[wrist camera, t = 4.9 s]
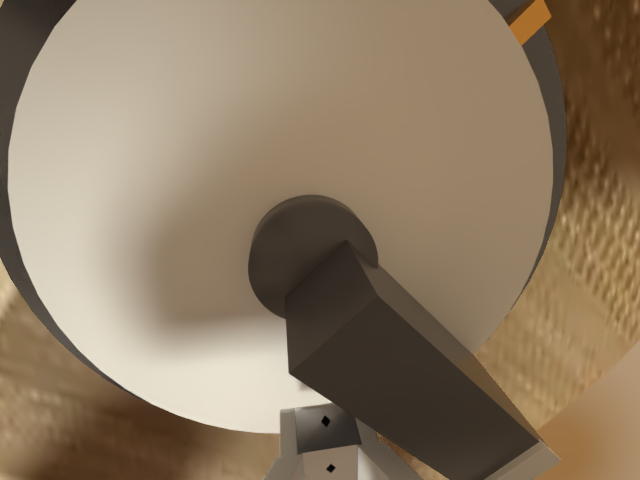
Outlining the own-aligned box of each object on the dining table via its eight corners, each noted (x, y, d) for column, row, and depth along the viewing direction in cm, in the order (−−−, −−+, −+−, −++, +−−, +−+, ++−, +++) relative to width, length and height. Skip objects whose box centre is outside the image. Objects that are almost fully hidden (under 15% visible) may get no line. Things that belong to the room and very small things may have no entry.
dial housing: (171, 437, 17) (154, 491, 14) (-131, -11, 9) (-280, -56, 7) (523, 331, 17) (563, 366, 15) (532, -180, 9) (619, -280, 7)
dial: (-61, 247, 10) (-451, 403, 4) (304, -249, 7) (395, -1381, 2) (306, 450, 15) (322, 622, 10) (587, 224, 13) (808, 303, 7)
